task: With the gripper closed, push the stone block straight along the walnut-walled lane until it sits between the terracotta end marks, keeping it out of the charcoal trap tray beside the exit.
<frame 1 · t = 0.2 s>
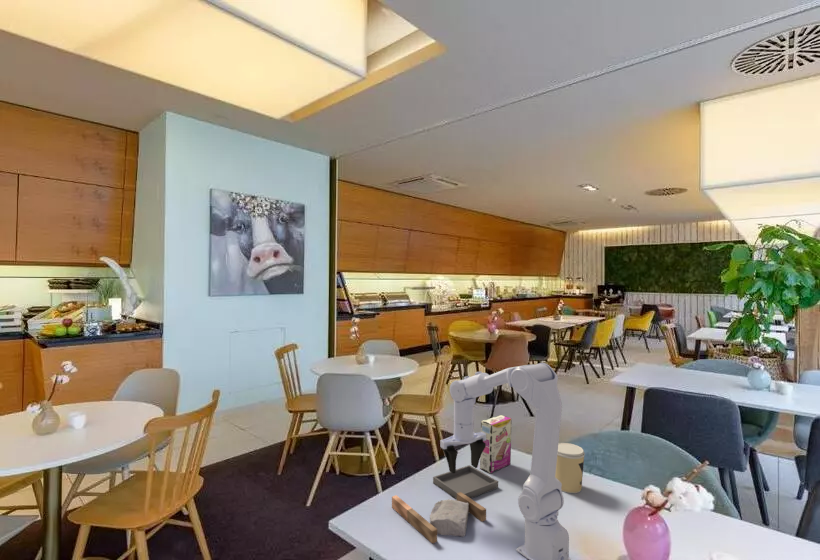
hand: (463, 469, 118), 10 cm above the table, tool pointing down, fingers open, 7 cm apart
candy bar box: (495, 467, 142), on the table
stone block: (448, 523, 110), on the table
walled lane: (437, 513, 113), on the table
trap tray: (465, 485, 129), on the table
coffee cup: (568, 487, 128), on the table
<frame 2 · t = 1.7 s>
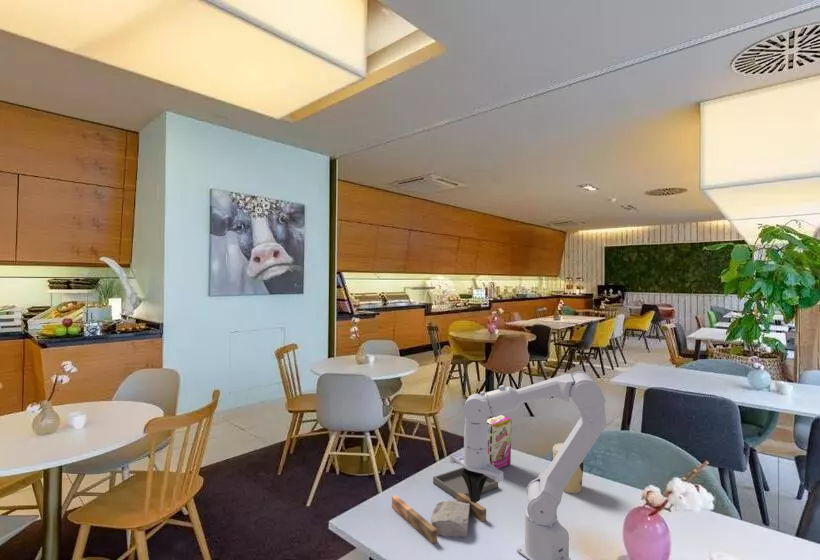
hand: (475, 500, 101), 10 cm above the table, tool pointing down, fingers closed
nothing on the table moved.
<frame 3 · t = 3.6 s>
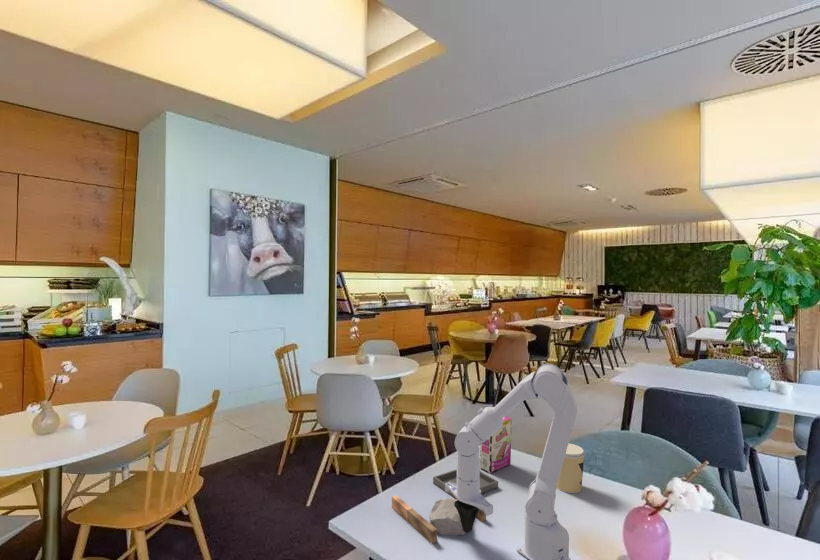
hand: (467, 530, 103), 2 cm above the table, tool pointing down, fingers closed
stone block: (448, 522, 110), on the table, touching gripper
everything else where it was.
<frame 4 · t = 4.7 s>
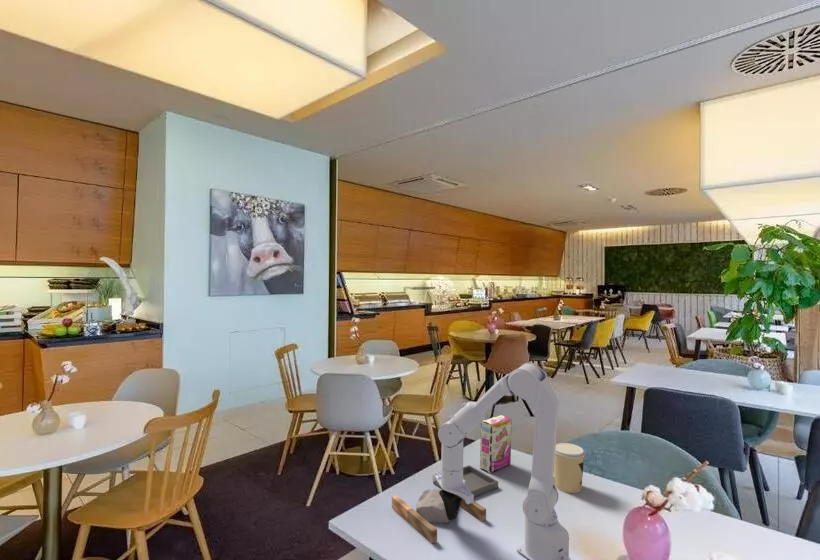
hand: (451, 518, 108), 2 cm above the table, tool pointing down, fingers closed
stone block: (434, 511, 115), on the table, touching gripper
everything else where it was.
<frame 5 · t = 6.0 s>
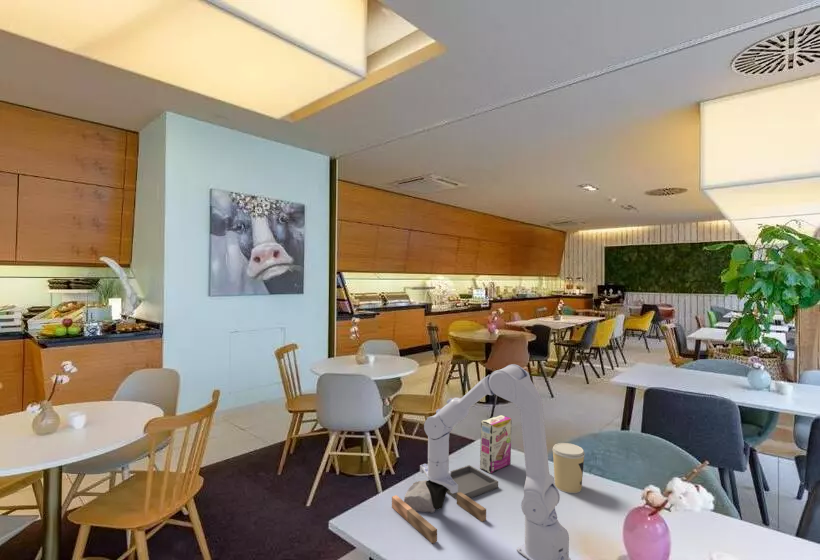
hand: (437, 507, 113), 2 cm above the table, tool pointing down, fingers closed
stone block: (422, 501, 120), on the table, touching gripper
everything else where it was.
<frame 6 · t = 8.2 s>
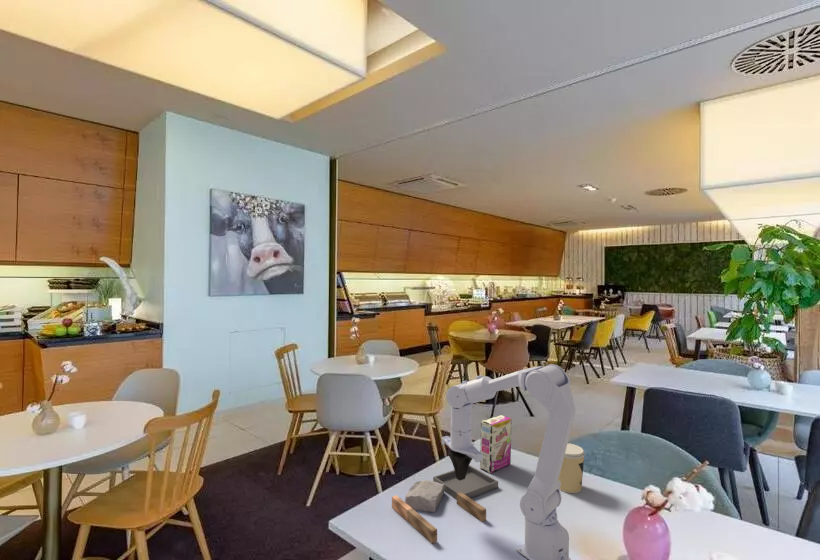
hand: (460, 478, 112), 10 cm above the table, tool pointing down, fingers closed
stone block: (423, 501, 120), on the table
everything else where it was.
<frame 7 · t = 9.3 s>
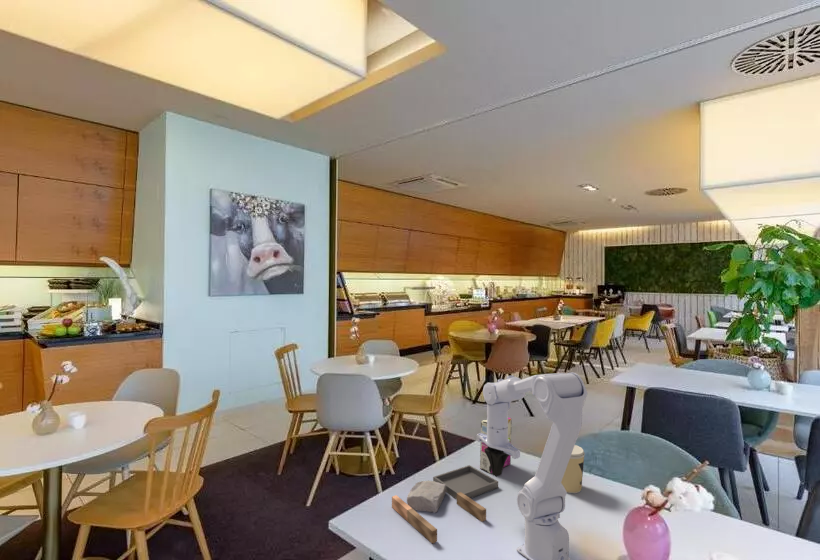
hand: (497, 475, 114), 10 cm above the table, tool pointing down, fingers closed
nothing on the table moved.
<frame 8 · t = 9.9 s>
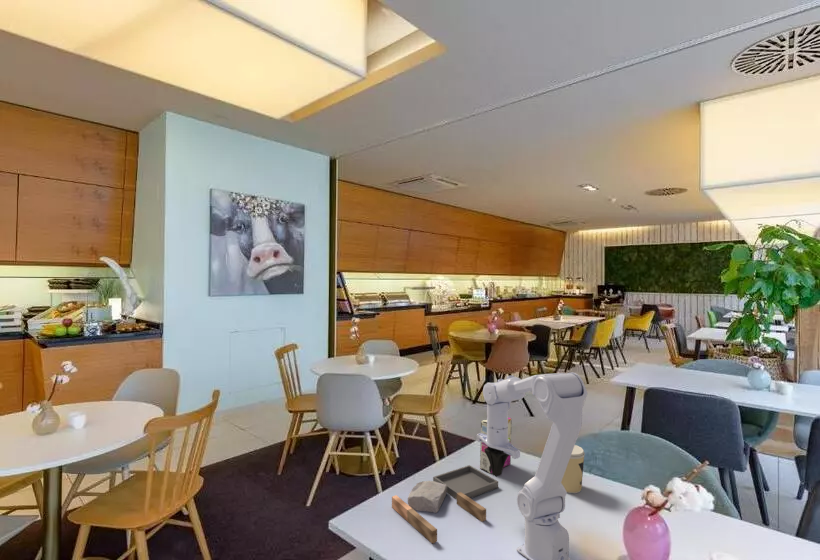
hand: (497, 475, 114), 10 cm above the table, tool pointing down, fingers closed
nothing on the table moved.
at the end: stone block inside the target area (1.6 cm from its centre), on the table; stone block touching table; stone block tilted 0° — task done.
